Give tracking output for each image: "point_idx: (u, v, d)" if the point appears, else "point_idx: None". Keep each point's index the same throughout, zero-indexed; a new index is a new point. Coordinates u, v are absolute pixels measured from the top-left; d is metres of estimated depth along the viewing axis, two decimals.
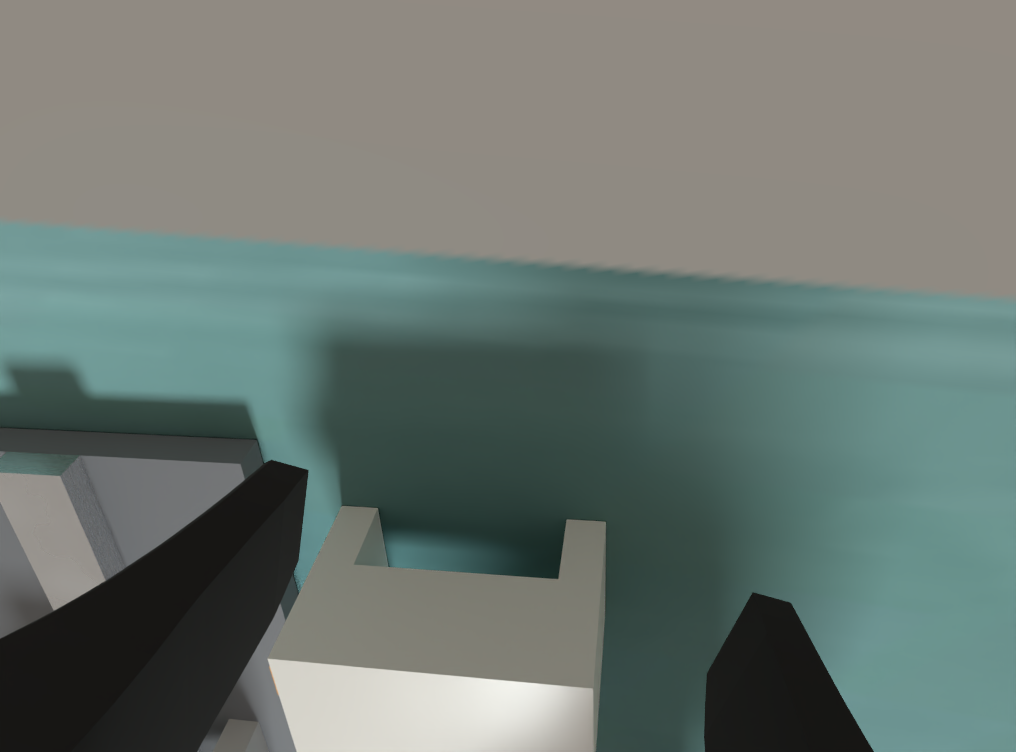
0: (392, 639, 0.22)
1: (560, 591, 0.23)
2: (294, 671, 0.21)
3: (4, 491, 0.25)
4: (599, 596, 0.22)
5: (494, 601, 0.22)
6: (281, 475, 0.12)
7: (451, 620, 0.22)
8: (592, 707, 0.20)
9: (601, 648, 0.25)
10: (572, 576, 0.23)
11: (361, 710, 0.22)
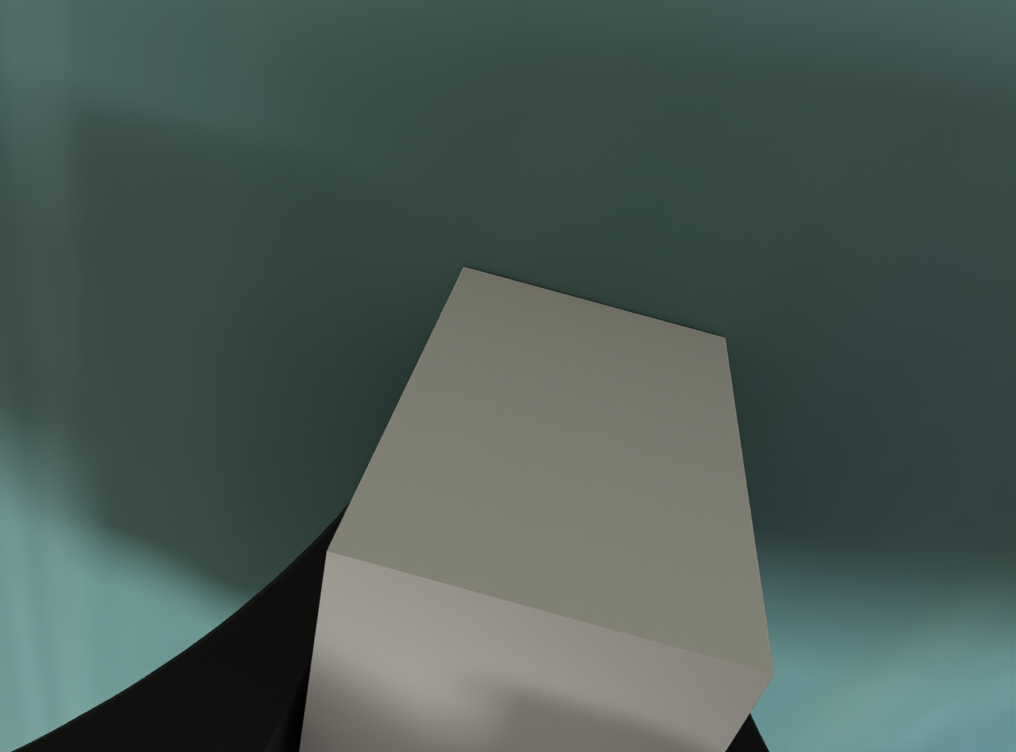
0: None
1: None
2: None
3: None
4: (416, 373, 0.10)
5: None
6: None
7: None
8: (409, 573, 0.07)
9: (658, 404, 0.10)
10: None
11: None
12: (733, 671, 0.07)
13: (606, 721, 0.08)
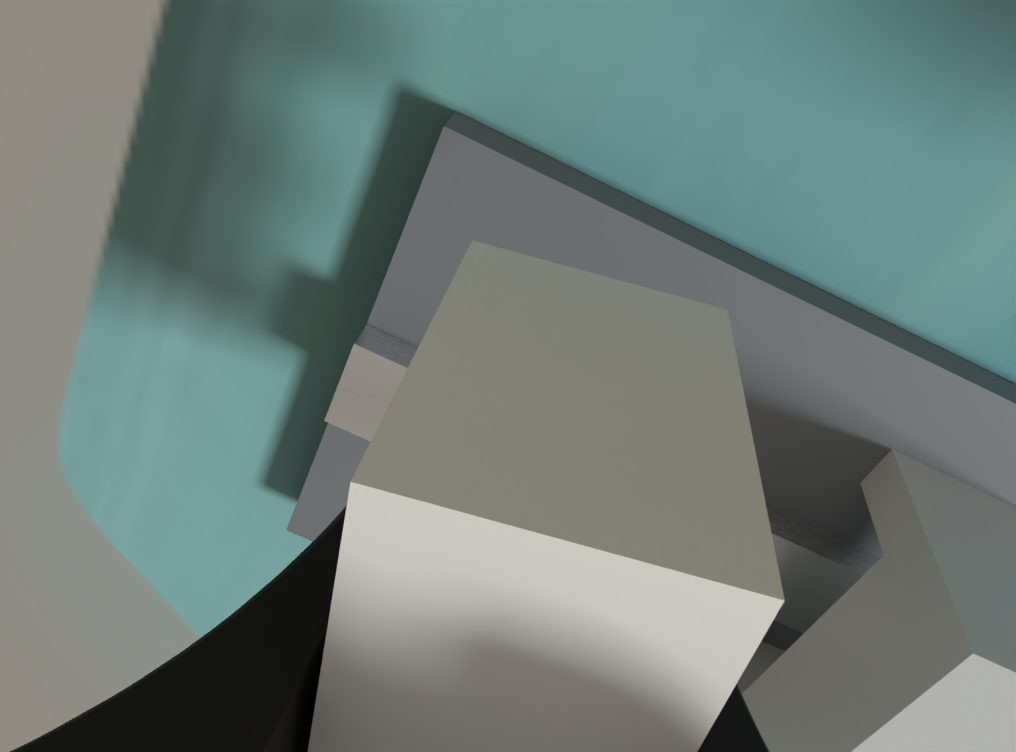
0: None
1: None
2: None
3: (354, 423, 0.20)
4: (430, 331, 0.10)
5: None
6: None
7: None
8: (430, 503, 0.07)
9: (665, 365, 0.10)
10: None
11: None
12: (744, 598, 0.07)
13: (620, 654, 0.08)
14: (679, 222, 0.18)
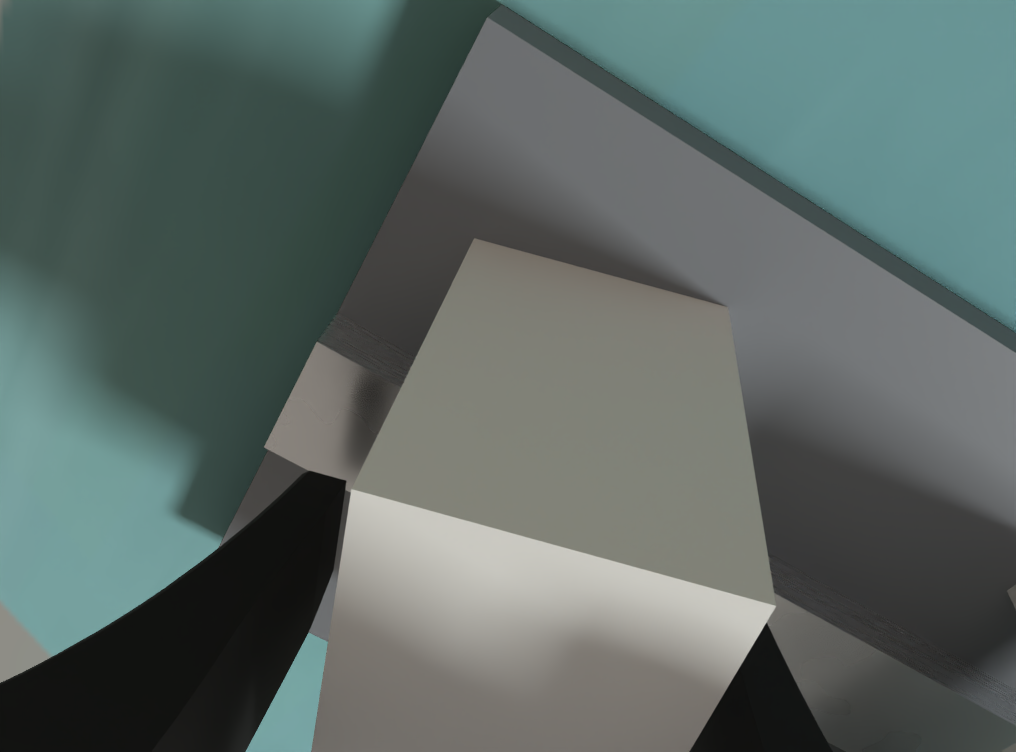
0: None
1: None
2: None
3: (308, 454, 0.14)
4: (430, 334, 0.10)
5: None
6: (320, 486, 0.12)
7: None
8: (429, 510, 0.08)
9: (664, 366, 0.11)
10: None
11: None
12: (737, 603, 0.08)
13: (616, 655, 0.08)
14: (813, 205, 0.13)
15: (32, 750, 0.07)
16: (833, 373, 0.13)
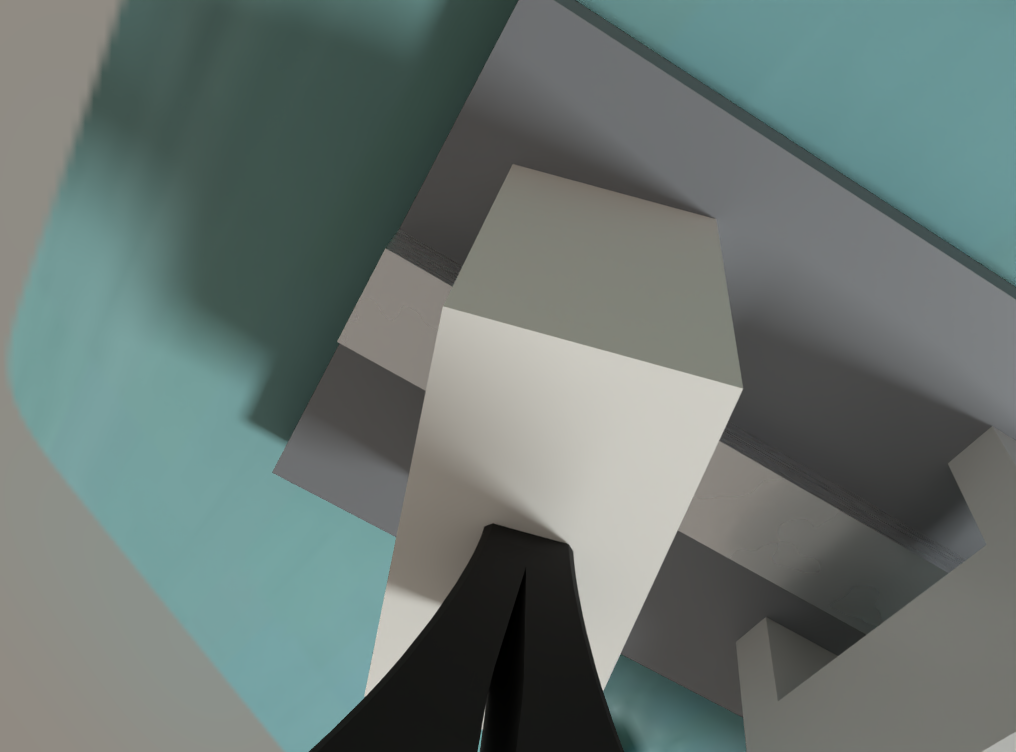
0: None
1: None
2: None
3: (373, 347, 0.17)
4: (486, 223, 0.13)
5: None
6: (511, 538, 0.12)
7: None
8: (498, 322, 0.11)
9: (665, 252, 0.14)
10: None
11: None
12: (715, 388, 0.11)
13: (629, 437, 0.11)
14: (785, 138, 0.16)
15: None
16: (801, 274, 0.16)
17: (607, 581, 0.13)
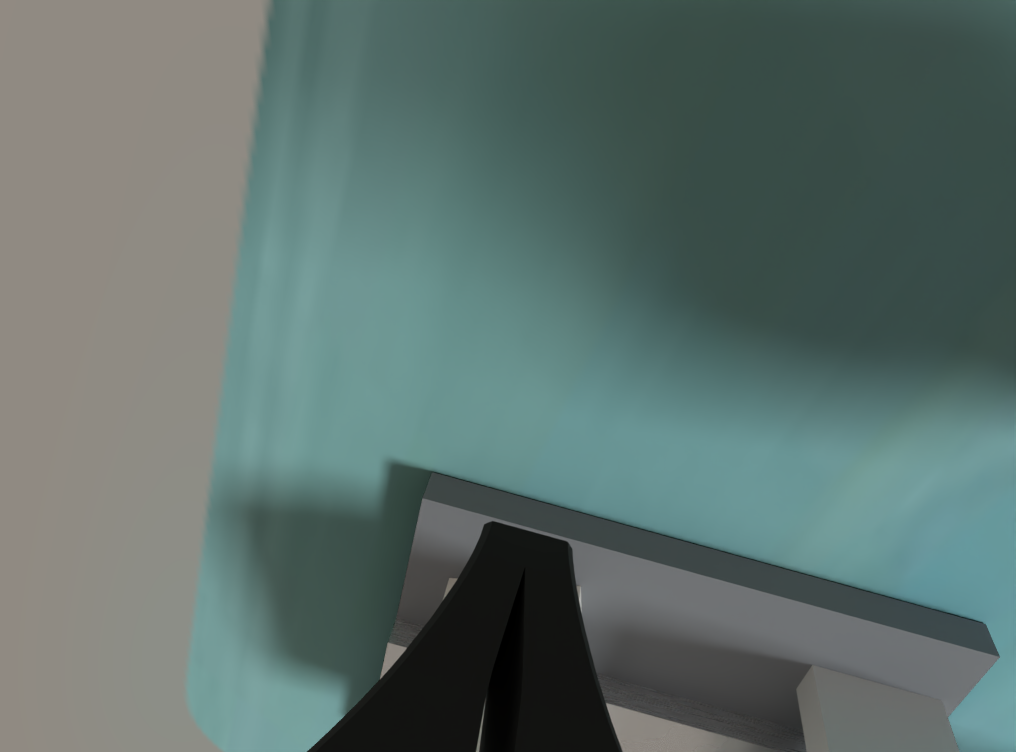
0: None
1: None
2: None
3: None
4: None
5: None
6: (510, 538, 0.12)
7: None
8: None
9: None
10: None
11: None
12: None
13: None
14: (611, 524, 0.24)
15: None
16: (646, 604, 0.24)
17: None
